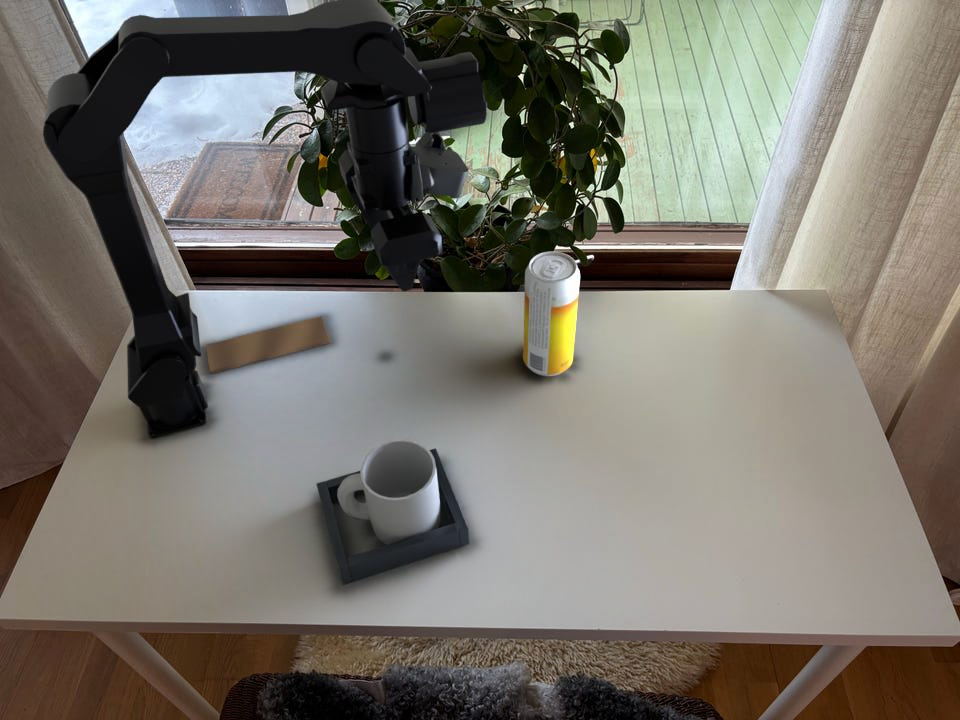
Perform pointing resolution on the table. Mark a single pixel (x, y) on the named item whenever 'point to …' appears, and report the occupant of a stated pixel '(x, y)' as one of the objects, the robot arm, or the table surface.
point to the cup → (395, 491)
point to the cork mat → (266, 344)
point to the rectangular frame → (399, 550)
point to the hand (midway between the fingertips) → (395, 264)
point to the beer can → (550, 312)
